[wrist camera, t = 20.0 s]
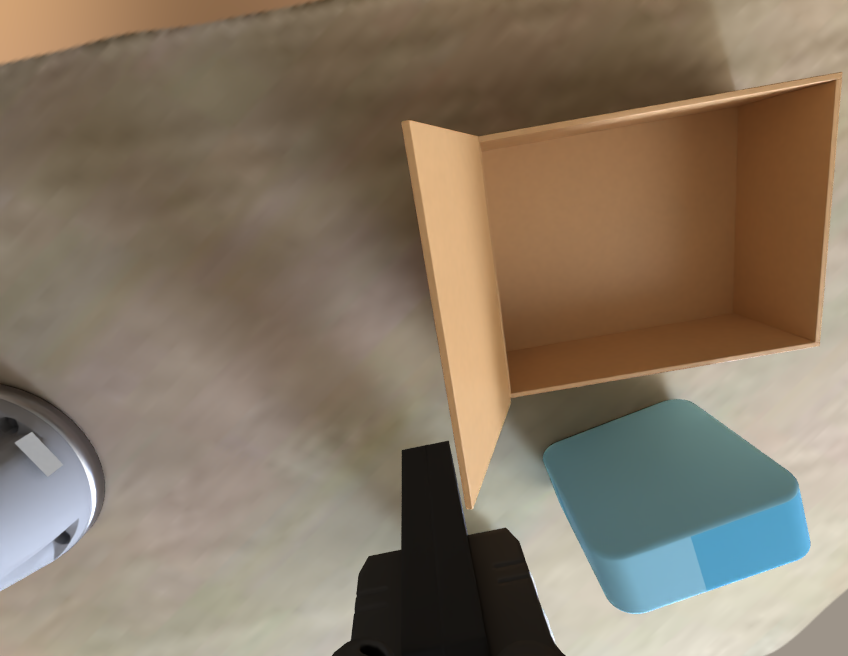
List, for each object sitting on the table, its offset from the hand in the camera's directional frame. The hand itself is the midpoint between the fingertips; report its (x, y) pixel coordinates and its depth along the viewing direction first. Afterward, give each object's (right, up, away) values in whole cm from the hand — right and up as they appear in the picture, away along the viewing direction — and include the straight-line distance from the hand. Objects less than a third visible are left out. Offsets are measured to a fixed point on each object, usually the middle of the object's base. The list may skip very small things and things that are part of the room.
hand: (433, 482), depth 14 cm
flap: (+2, +6, +6) cm, 9 cm away
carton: (+12, +11, +17) cm, 24 cm away
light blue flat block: (+15, -4, +22) cm, 27 cm away
